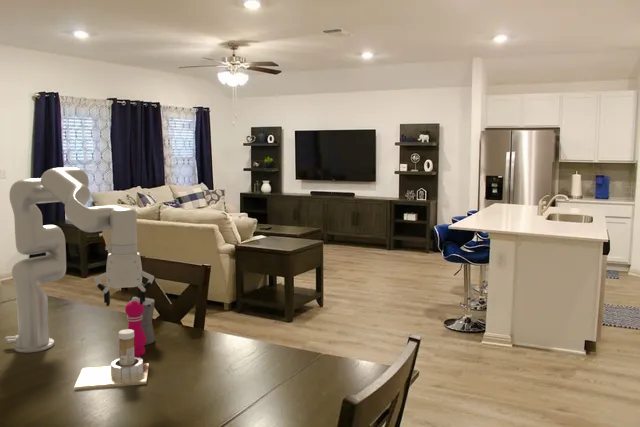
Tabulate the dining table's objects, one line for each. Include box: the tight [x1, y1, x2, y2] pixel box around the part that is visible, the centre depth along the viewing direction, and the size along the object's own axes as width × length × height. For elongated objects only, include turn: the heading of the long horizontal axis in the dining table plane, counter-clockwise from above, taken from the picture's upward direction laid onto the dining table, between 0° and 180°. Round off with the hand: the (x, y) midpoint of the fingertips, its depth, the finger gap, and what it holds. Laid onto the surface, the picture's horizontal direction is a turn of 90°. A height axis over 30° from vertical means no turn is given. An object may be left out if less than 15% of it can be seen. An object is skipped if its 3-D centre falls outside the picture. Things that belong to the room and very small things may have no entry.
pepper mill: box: [124, 296, 146, 357], centre depth 186 cm, size 7×7×20 cm
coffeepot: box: [128, 293, 156, 346], centre depth 199 cm, size 15×9×18 cm, turn 44°
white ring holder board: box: [73, 356, 150, 391], centre depth 167 cm, size 20×14×4 cm
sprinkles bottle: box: [118, 328, 134, 367], centre depth 168 cm, size 5×5×14 cm
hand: (125, 304), depth 166 cm, fingers open, 9 cm apart
